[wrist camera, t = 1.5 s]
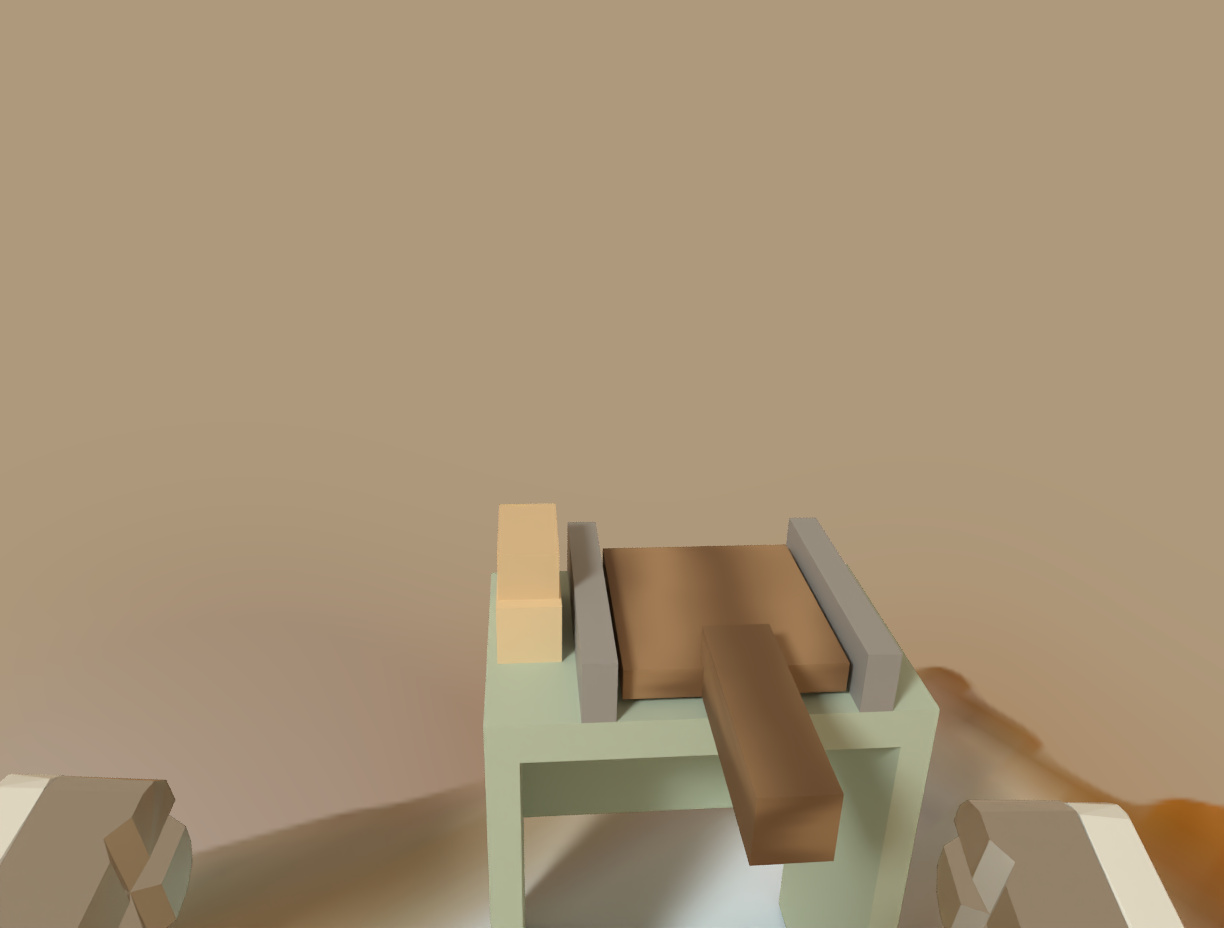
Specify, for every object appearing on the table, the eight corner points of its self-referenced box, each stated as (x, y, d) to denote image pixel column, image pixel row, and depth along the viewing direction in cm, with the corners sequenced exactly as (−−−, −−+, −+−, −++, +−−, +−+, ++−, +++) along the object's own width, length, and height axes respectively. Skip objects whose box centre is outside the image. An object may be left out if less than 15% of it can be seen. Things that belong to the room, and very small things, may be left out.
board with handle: (650, 871, 33) (653, 803, 32) (602, 573, 51) (603, 523, 50) (930, 856, 34) (943, 789, 32) (783, 568, 52) (788, 519, 51)
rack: (498, 1123, 50) (479, 617, 38) (502, 919, 62) (488, 483, 50) (864, 1095, 52) (960, 604, 40) (800, 902, 64) (859, 477, 52)
